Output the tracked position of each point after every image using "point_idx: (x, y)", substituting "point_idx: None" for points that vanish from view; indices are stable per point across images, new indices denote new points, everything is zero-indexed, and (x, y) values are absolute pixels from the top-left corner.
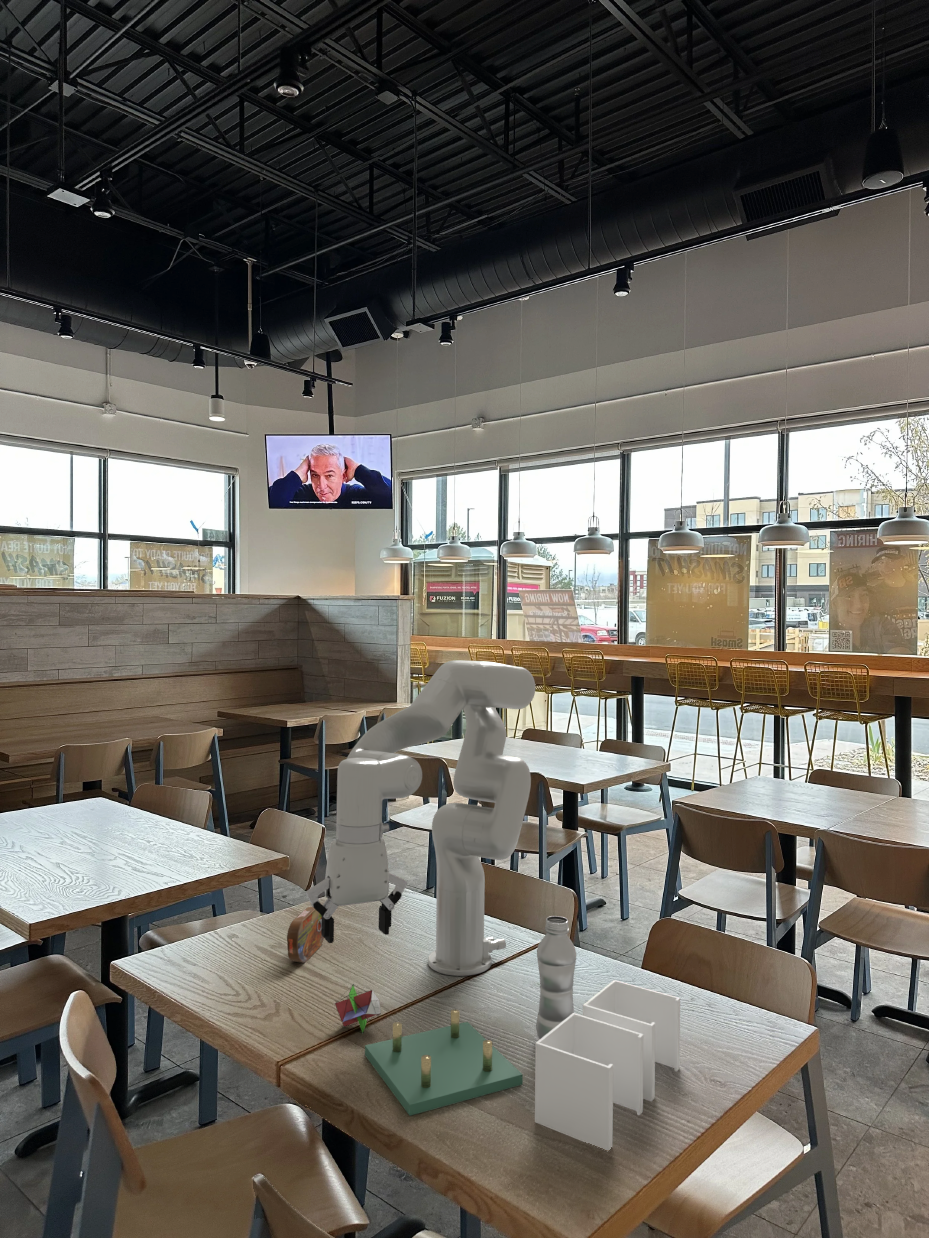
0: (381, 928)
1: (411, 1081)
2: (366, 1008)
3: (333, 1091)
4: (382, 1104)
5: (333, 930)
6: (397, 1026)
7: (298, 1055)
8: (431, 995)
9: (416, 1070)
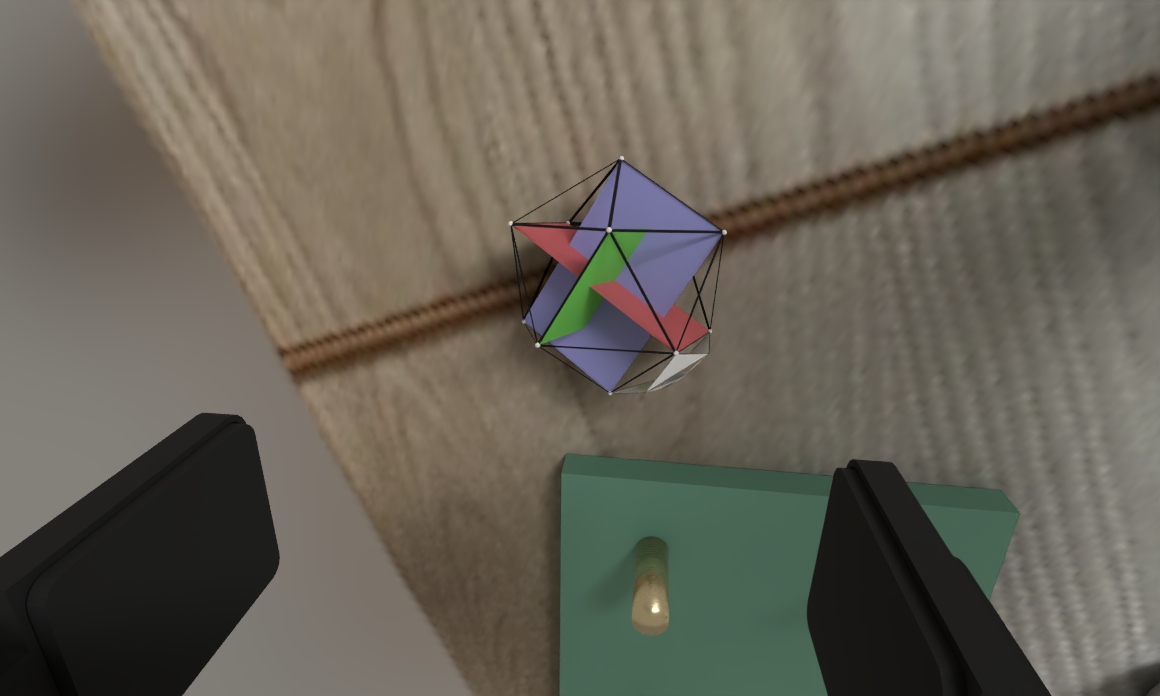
0: (829, 562)
1: (610, 694)
2: (636, 341)
3: (415, 571)
4: (519, 671)
5: (205, 659)
6: (643, 632)
7: (351, 347)
8: (1131, 110)
9: (650, 662)
